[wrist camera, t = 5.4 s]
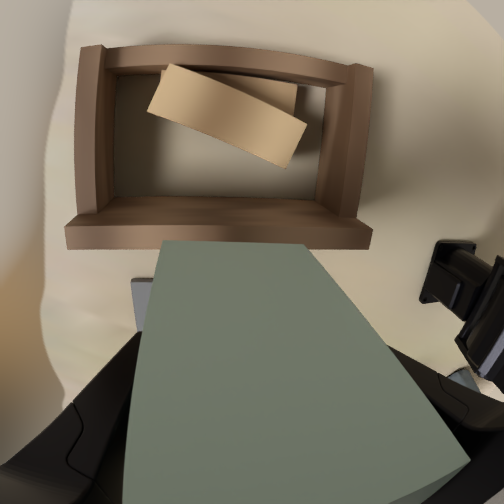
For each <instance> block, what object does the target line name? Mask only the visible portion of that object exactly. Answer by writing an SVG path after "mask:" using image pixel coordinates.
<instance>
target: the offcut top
mask: <svg viewBox="0 0 504 504" xmlns="http://www.w3.org/2000/svg"><path fill="white" fill-rule="evenodd" d="M147 112H149V113H152V114H155V115H158V116H161V117H163V118H166V119H169V120H171V121H174V122H177V123H179V124H182V125H184V126H187V127H190V128H192V129H195V130H197V131H200V132H202V133H205V134H207V135H210V136H212V137H214V138H217V139H219V140H222V141H224V142H226V143H229V144H231V145H233V146H236V147H238V148H240V149H242V150H245V151H247V152H249V153H251V154H254V155H256V156H258V157H260V158H263V159H265V160H267V161H269V162H271V163H273V164H275V165H278V166H280V167H282V168H284V169H286V167H287V165H288V163H289V161H290V159H291V157H292V155H293V153H294V151H295V149H296V147H297V145H298V143H299V140H300V138H301V136H302V134H303V132H304V130H305V128H306V126H307V124H306V123H304V122H302V121H300V120H298V119H297V118H295V117H293V116H291V115H289V114H287V113H285V112H283V111H281V110H279V109H277V108H275V107H273V106H271V105H269V104H267V103H265V102H263V101H261V100H259V99H256V98H254V97H252V96H250V95H248V94H246V93H243V92H241V91H239V90H237V89H234V88H232V87H230V86H227V85H225V84H223V83H220V82H218V81H215V80H213V79H211V78H208V77H206V76H203V75H200V74H198V73H195V72H193V71H190V70H187V69H185V68H182V67H179V66H176V65H173V64H171V63H170V64H169V66H168V67H167V69H166V71H165V73H164V75H163V77H162V79H161V82H160V84H159V86H158V88H157V90H156V92H155V94H154V96H153V99H152V101H151V103H150V105H149V107H148V110H147Z"/></svg>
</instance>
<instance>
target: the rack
mask: <svg viewBox="0 0 504 504" xmlns="http://www.w3.org/2000/svg"><path fill="white" fill-rule="evenodd" d="M170 63H171V64H173V65H176V66H179V67H182V68H185V69H187V70H190V71H197V72H210V73H221V74H231V75H240V76H248V77H255V78H264V79H272V80H280V81H287V82H294V83H300V84H306V85H312V86H318V87H323V88H326V98H325V109H324V120H323V131H322V141H321V150H320V159H319V168H318V177H317V185H316V193H315V201H314V200H296V199H275V198H248V197H203V196H146V197H114V117H115V99H116V85H117V76H126V75H143V74H161V71H162V70H166V69H167V67H168V66H169V64H170ZM373 69H374V68H371V67H367V66H364V65H360V64H357V63H355V64H352V65H348V66H347V65H343V64H339V63H335V62H331V61H326V60H322V59H317V58H312V57H307V56H301V55H296V54H290V53H284V52H277V51H270V50H262V49H254V48H244V47H233V46H218V45H191V44H169V45H142V46H128V47H117V48H108V49H107V48H105V47H104V46H103V45H102V44H101V45H94V46H87V47H81V51H80V58H79V67H78V76H77V87H76V102H75V125H74V164H75V188H76V203H77V214H78V215H77V216H76V217H75V218H73V219H72V220H71V221H70V222H69V223H68V224H67V225H66V226H64V229H65V237H66V244H67V250H85V249H161V245H162V241H163V240H177V241H216V242H250V243H282V244H304V245H305V246H306V248H307V249H349V250H369V246H370V242H371V237H372V232H373V229H372V228H370V227H369V226H367V225H366V224H364V223H363V222H361V221H360V220H358V219H357V218H356V217H357V211H358V205H359V199H360V193H361V186H362V179H363V172H364V165H365V157H366V149H367V141H368V132H369V122H370V112H371V100H372V86H373Z"/></svg>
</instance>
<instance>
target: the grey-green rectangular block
mask: <svg viewBox="0 0 504 504" xmlns="http://www.w3.org/2000/svg"><path fill="white" fill-rule="evenodd" d="M470 461H471V460H470V458H469V457H468V455H467V454H466V453H465V451H464V450H463V448H462V447H461V445H460V444H459V442H458V441H457V439H456V438H455V437H454V435H453V434H452V432H451V431H450V429H449V428H448V427H447V425H446V424H445V422H444V421H443V420H442V418H441V417H440V415H439V414H438V413H437V411H436V410H435V409H434V407H433V406H432V404H431V403H430V402H429V400H428V399H427V398H426V396H425V395H424V394H423V392H422V391H421V389H420V388H419V387H418V385H417V384H416V383H415V381H414V380H413V379H412V377H411V376H410V375H409V373H408V372H407V371H406V370H405V368H404V367H403V366H402V364H401V363H400V362H399V360H398V359H397V358H396V357H395V355H394V354H393V353H392V351H391V350H390V349H389V347H388V346H387V345H386V344H385V342H384V341H383V340H382V339H381V337H380V336H379V335H378V333H377V332H376V331H375V330H374V328H373V327H372V326H371V325H370V323H369V322H368V321H367V320H366V318H365V317H364V316H363V315H362V313H361V312H360V311H359V310H358V309H357V307H356V306H355V305H354V304H353V302H352V301H351V300H350V299H349V298H348V296H347V295H346V294H345V293H344V291H343V290H342V289H341V288H340V287H339V285H338V284H337V283H336V282H335V281H334V279H333V278H332V277H331V276H330V275H329V273H328V272H327V271H326V270H325V269H324V267H323V266H322V265H321V264H320V263H319V262H318V260H317V259H316V258H315V257H314V256H313V255H312V253H311V252H310V251H309V250H308V249H307V248H306V246H305V245H304V244H282V243H250V242H216V241H177V240H163V241H162V245H161V249H160V253H159V257H158V261H157V265H156V270H155V274H154V278H153V283H152V287H151V292H150V296H149V301H148V306H147V310H146V315H145V320H144V325H143V331H142V336H141V341H140V347H139V353H138V359H137V365H136V371H135V377H134V384H133V391H132V398H131V406H130V414H129V422H128V431H127V441H126V452H125V464H124V479H123V498H122V504H421V503H422V502H424V501H425V500H426V499H427V498H429V497H430V496H431V495H433V494H434V493H435V492H436V491H437V490H439V489H440V488H441V487H442V486H443V485H445V484H446V483H447V482H448V481H449V480H450V479H451V478H453V477H454V476H455V475H456V474H457V473H458V472H459V471H460V470H461V469H462V468H463V467H464V466H465V465H467V464H468V463H469V462H470Z"/></svg>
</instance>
